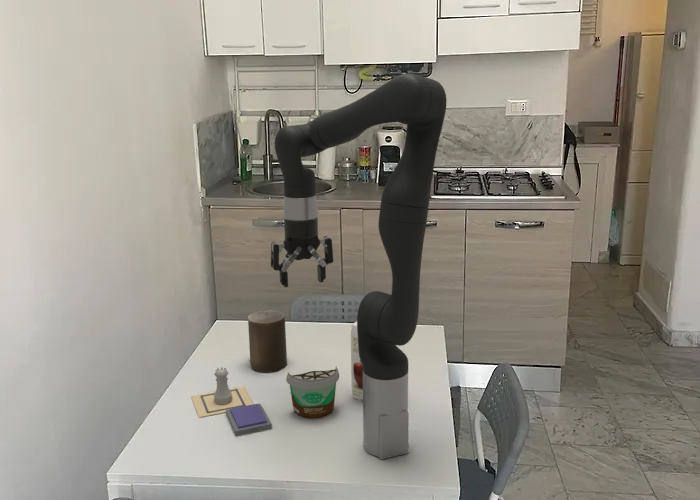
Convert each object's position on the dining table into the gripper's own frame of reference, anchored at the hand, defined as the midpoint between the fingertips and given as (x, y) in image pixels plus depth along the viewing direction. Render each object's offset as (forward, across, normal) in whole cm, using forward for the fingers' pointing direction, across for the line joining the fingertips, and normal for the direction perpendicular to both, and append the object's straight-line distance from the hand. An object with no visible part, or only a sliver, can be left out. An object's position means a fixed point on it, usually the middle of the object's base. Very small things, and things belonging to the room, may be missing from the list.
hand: (303, 283), depth 157 cm
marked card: (+28, +20, -4) cm, 34 cm away
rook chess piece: (+28, +19, -4) cm, 34 cm away
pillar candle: (+28, +4, -20) cm, 35 cm away
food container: (+28, +1, +10) cm, 30 cm away
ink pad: (+28, +16, +7) cm, 33 cm away
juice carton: (+28, -14, +7) cm, 32 cm away
